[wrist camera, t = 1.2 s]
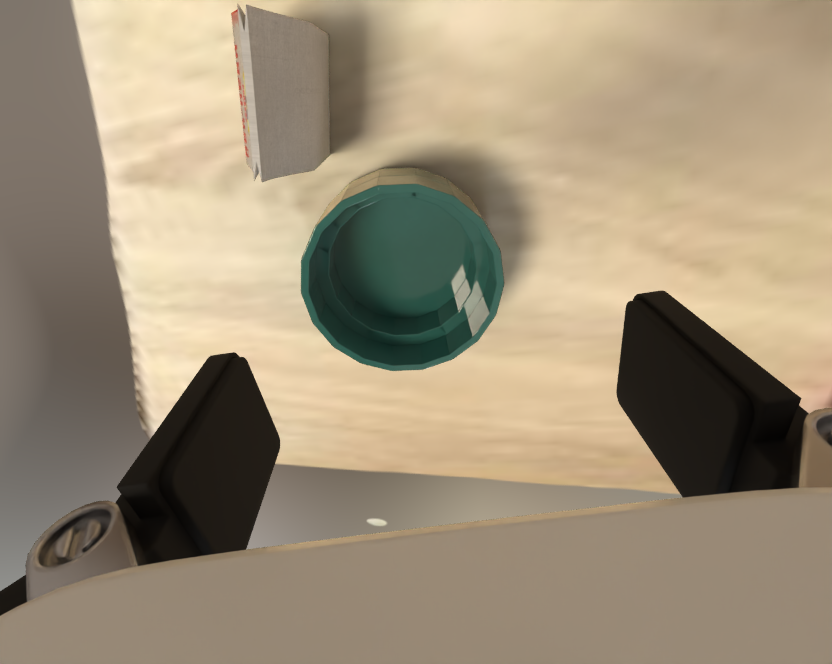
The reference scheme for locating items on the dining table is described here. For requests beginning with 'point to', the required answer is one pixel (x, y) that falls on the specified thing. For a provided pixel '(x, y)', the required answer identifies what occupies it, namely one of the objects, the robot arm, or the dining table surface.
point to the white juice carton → (282, 92)
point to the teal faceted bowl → (402, 271)
